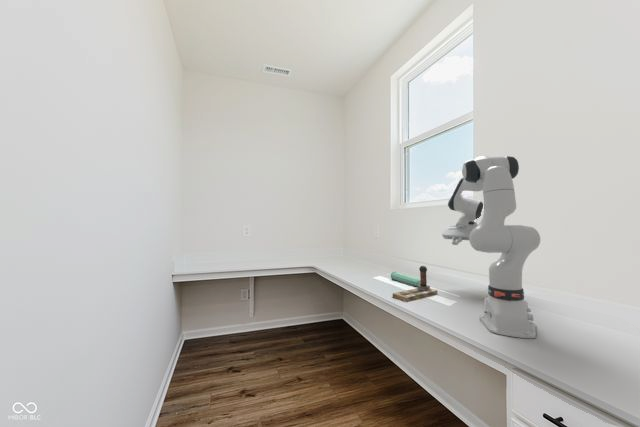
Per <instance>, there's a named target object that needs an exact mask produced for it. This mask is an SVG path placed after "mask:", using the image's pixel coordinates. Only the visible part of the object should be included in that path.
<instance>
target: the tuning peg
mask: <svg viewBox="0 0 640 427" xmlns="http://www.w3.org/2000/svg"><path fill="white" fill-rule="evenodd" d="M427 271H428V268H427V266H425V265H421V266H420V267H419V274H420V278H419V280H420V282H421V285H419V286H417V289H418V290H422V291H426V290H429V291H432V290H433V289H432V290H430V289H431V285H427Z"/></svg>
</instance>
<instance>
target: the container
mask: <svg viewBox="0 0 640 427" xmlns="http://www.w3.org/2000/svg"><path fill="white" fill-rule="evenodd" d="M390 279H391V280H393V281H394V280H395V281H397V282H401V283H403V284H406V285H411V286H413V287H417V286H419V285H421V282H420V278H417V277H412V276H409V275H406V274H402V273H399V272H397V271H392V272H391V273H390Z"/></svg>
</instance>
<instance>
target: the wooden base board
mask: <svg viewBox="0 0 640 427" xmlns="http://www.w3.org/2000/svg"><path fill="white" fill-rule="evenodd" d="M430 290H432V291H429V290H426V291H422V290H418V289H417V288H411V289H408V290H407V289H406V290H401V291H398V292H394V293H392V298H393V299H398V300H401V301H402V302H403V301H404V302H406V303H407V302H412V301H415V300H420V299H424V298H428V297H431V296H436V295H438V290H435V289H432V288H430Z"/></svg>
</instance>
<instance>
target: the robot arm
mask: <svg viewBox="0 0 640 427" xmlns="http://www.w3.org/2000/svg"><path fill="white" fill-rule="evenodd" d="M519 170H520V167H519V161H518V159H516V158H515V156H510V155H509V156H508V155H505V156H493V157H492V156H487V155H481V156H478V157H475V159H474V158H472V159H469V160H466V161H465V162H463V165H462V168H461V175H462V177H461V178H460V180H459V181H458V183H457V185H456V187H455V189H454V191H453V193H452V195H451V196H450V197H449V199H448V202H447V207H448V208H449V210H451V211H455V212H458V213H461V216H460V217H459V218H458V219H457V222H456V224H455V225H449V226H448V227H446V228H445V229H444V231H443V232H442V233H441V236H442V238H443V239H445V240H452V241H451V244H452V246H458V245H459V244H460V243H462V242H463V241H469V243H470V246H471V247H472V248H473V250H475V251H477V252H481V253H488V254H491V253H494V254H495V253H496V254H497V253H501V256H500V257H499V258H498V259H497V260H496V261H494V262H493V263H491V264H490V266H489V268H488V281H489V283H488V286H487V291H488V295H487V297H485V298H484V301H483V302H484V311H483V312H484V313H483V314H484V315H480V316H479V320H480V321H481V322H482V324H483V325H484V327H486V329H487V330H488V331H489V332H491V333H494V334H498V335H501V336H506V337H507V336H508V337H512V338H513V337H514V338H522V339H535V338H537V331H536V330H537V326H536V322H535V321H534V314H532V313H531V311H532V310H531V308H530V307H529V303H528V302H527V300H525V292H524V288H523V270H524V269H523V268H524V264H525V263H526V260H527V259H528V257H529V256H530V254H531V253H533V252H534V251H535V250H536V249H538V248H539V246H540V244H541V235H540V232H539V231H538V230H537V229H536V228H535V227H532V226H527V225H521V224H512V225H511V224H510V225H509V224H507V225H505V221H506V218H507V217H509V216H510V215H512V214H513V213H515V211H516V210H517V201H516V192H515V186H514V181H513V179H515V178H516V177H517V176H518V175H519ZM464 191H466V192H467V191H469V192H481V191H482V196H483V201H481V200H479V199H475V198H473V197H468V196H465V195H462V193H463V192H464ZM483 205H484V211H483V213H482V214H483V215H481V212H482V209H483ZM480 216H482V218H481V217H480ZM479 217H480V218H481V220H480V222H479V223H477V221H476V222H474V220H475V219H477V218H479ZM480 218H479V219H480ZM477 220H478V219H477ZM530 313H531V314H530Z"/></svg>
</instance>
